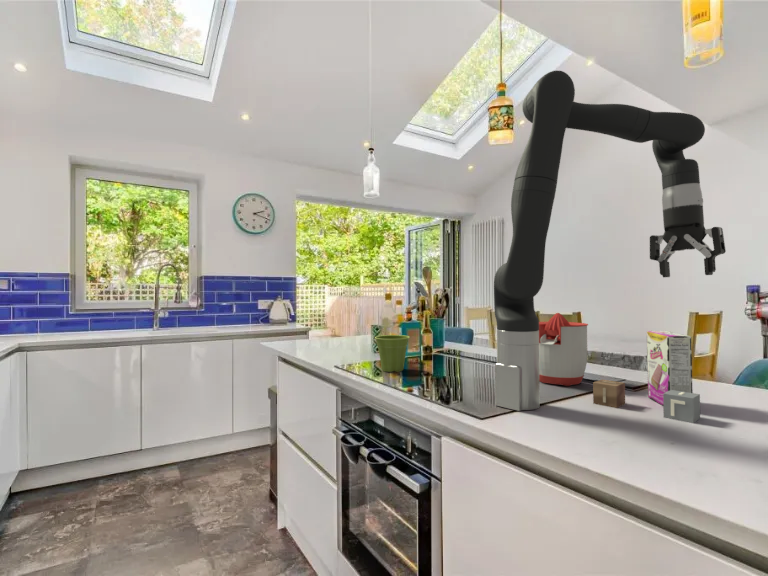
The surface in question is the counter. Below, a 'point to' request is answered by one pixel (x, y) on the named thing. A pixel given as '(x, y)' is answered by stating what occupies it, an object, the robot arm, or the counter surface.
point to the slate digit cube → (681, 406)
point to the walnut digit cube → (609, 393)
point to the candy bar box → (668, 363)
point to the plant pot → (392, 351)
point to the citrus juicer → (562, 351)
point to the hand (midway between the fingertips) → (687, 276)
